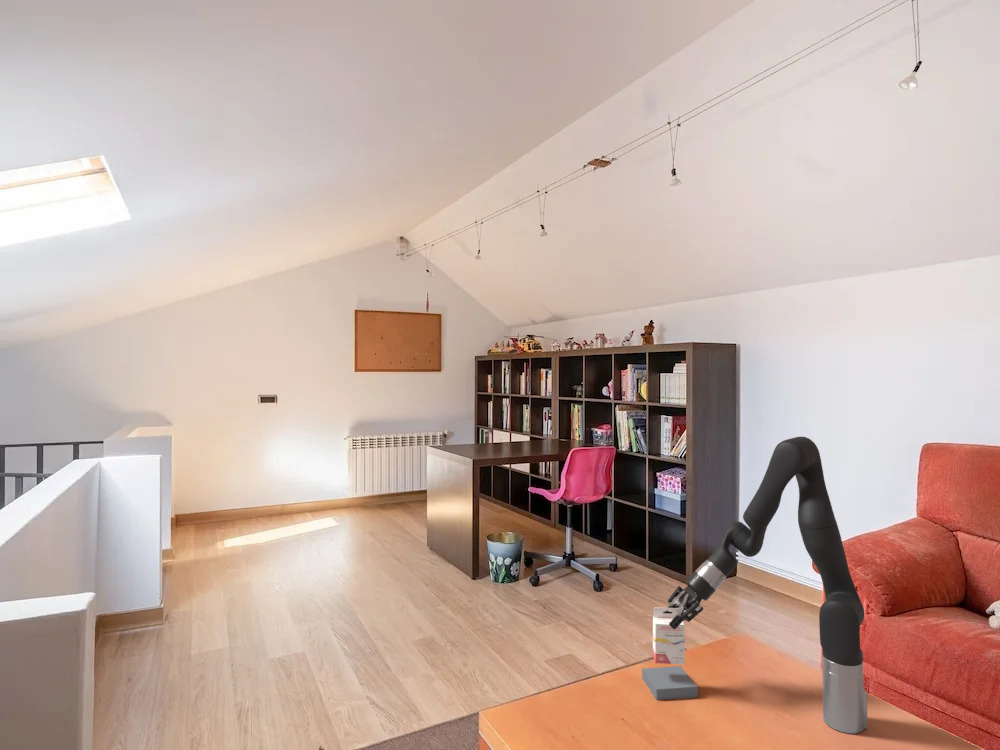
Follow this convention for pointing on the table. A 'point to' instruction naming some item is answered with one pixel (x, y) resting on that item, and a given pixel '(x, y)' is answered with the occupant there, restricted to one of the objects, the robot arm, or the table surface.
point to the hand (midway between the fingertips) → (667, 622)
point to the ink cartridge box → (668, 637)
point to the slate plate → (669, 683)
